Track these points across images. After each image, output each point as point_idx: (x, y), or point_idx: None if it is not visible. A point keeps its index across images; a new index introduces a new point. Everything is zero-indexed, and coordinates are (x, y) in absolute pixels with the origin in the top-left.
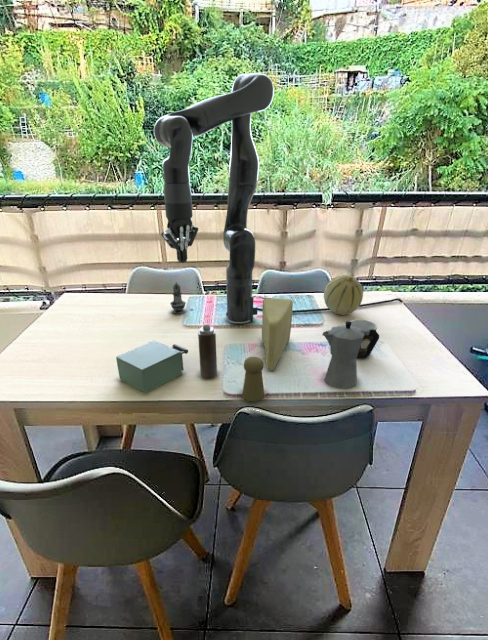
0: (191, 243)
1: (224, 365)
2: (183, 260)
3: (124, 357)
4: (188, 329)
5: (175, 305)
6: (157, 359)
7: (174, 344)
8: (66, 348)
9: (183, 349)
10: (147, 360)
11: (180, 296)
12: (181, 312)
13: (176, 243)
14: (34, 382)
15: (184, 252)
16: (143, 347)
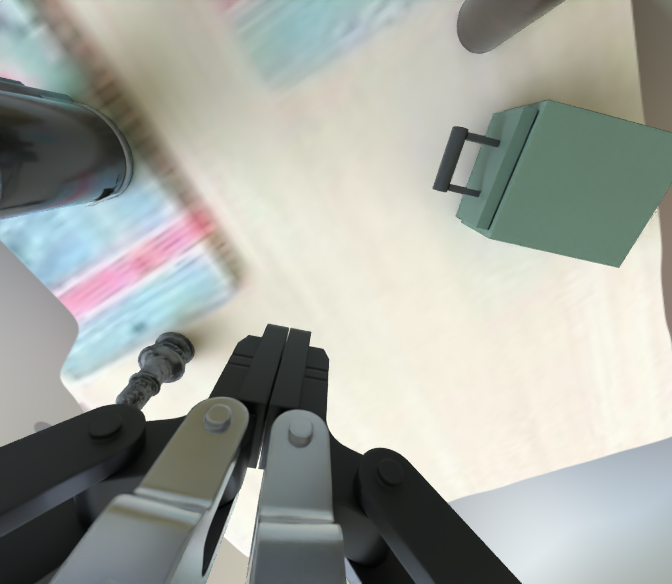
0: (89, 427)
1: (407, 4)
2: (307, 337)
3: (620, 243)
4: (250, 262)
5: (180, 360)
6: (621, 138)
7: (442, 188)
8: (466, 425)
9: (463, 139)
10: (632, 165)
11: (146, 370)
12: (177, 338)
13: (418, 544)
14: (610, 383)
15: (272, 383)
16: (545, 235)
